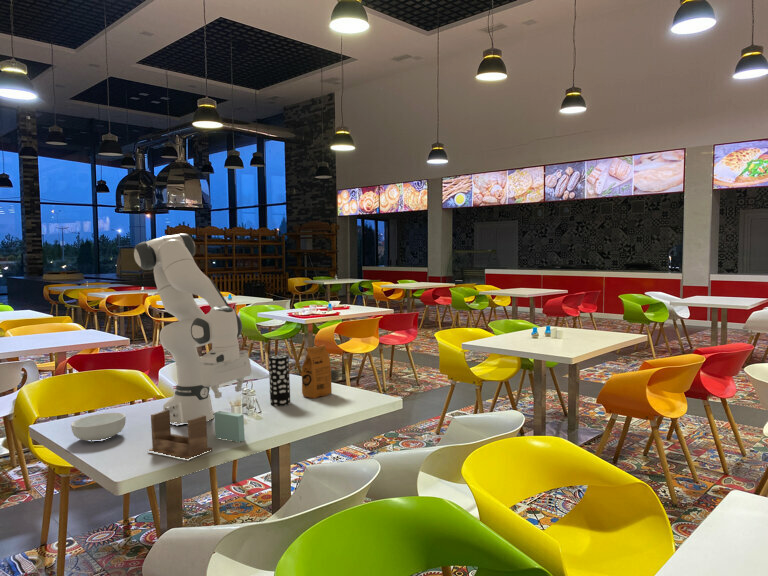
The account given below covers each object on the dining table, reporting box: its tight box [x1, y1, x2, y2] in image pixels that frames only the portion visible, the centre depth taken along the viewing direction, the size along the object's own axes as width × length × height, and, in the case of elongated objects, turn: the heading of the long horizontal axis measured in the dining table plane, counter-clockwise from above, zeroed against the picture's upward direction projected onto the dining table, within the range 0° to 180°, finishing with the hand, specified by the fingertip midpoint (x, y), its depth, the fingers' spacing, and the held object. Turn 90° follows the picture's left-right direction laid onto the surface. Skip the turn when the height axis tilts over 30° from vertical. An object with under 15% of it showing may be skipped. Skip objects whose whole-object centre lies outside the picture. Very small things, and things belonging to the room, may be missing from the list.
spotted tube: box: [268, 354, 291, 407], centre depth 233 cm, size 8×8×20 cm
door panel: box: [213, 410, 246, 443], centre depth 188 cm, size 11×2×9 cm, turn 61°
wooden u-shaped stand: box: [148, 410, 213, 459], centre depth 176 cm, size 18×10×12 cm, turn 61°
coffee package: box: [301, 344, 333, 399], centre depth 245 cm, size 10×12×22 cm
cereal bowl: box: [70, 412, 127, 441], centre depth 193 cm, size 17×17×7 cm
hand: (228, 394), depth 187 cm, fingers open, 8 cm apart
